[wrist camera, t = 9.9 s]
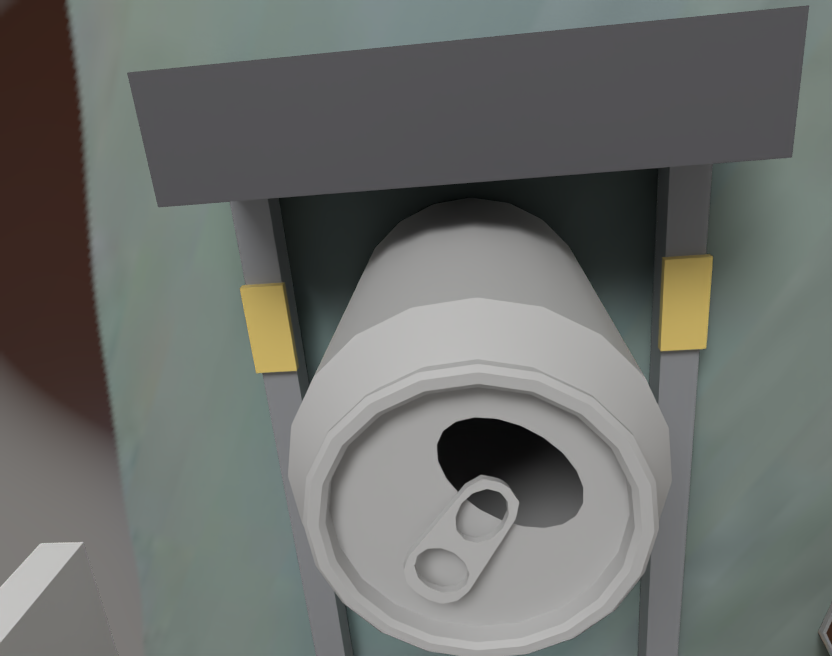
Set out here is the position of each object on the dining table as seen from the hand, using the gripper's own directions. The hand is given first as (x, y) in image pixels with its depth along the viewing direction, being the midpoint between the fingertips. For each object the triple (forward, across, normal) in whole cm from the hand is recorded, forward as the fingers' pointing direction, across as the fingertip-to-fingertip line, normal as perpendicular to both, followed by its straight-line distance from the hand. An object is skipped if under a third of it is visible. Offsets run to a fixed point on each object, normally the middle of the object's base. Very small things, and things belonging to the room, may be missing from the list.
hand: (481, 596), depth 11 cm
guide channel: (+13, 0, +3) cm, 13 cm away
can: (+13, 0, -1) cm, 13 cm away
